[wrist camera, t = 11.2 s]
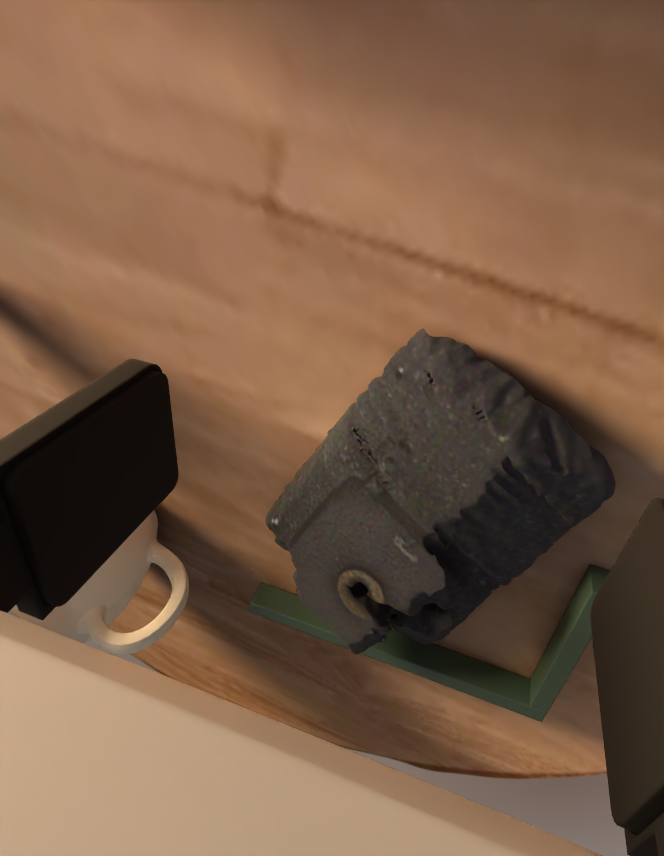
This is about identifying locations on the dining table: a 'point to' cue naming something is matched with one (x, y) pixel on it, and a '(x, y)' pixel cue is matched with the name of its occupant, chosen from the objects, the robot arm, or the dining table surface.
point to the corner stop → (455, 667)
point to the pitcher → (120, 596)
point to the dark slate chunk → (432, 496)
